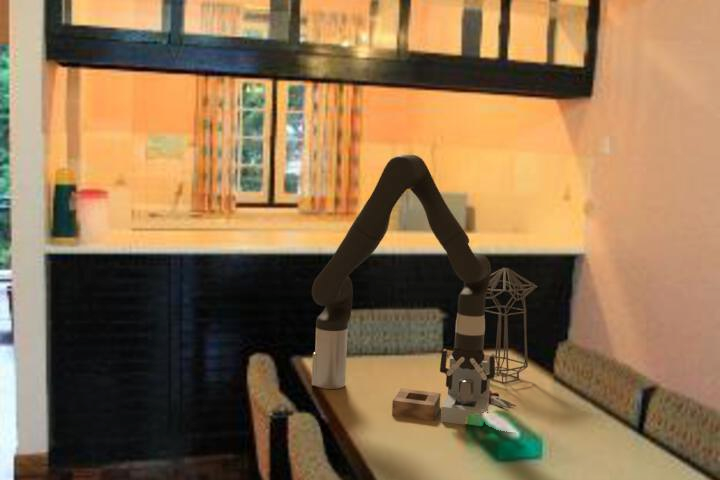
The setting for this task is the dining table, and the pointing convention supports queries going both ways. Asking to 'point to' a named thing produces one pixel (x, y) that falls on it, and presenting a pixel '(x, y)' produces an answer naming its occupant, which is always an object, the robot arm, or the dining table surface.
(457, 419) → the block
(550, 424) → the dining table surface
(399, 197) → the robot arm
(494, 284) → the geometric lantern
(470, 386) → the steel rod
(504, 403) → the pliers
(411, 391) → the socket block
